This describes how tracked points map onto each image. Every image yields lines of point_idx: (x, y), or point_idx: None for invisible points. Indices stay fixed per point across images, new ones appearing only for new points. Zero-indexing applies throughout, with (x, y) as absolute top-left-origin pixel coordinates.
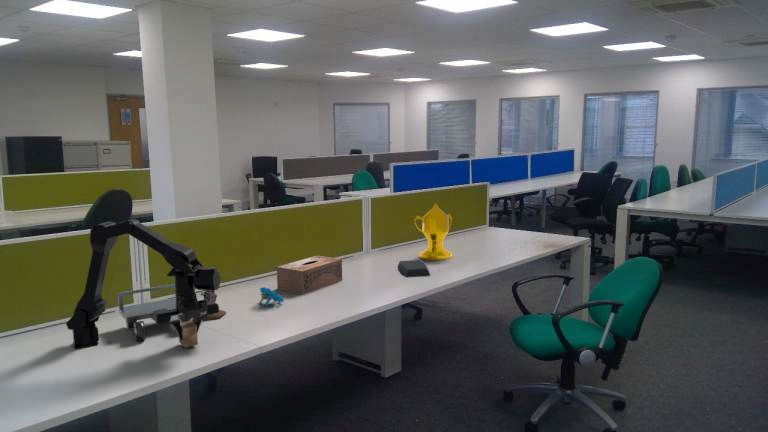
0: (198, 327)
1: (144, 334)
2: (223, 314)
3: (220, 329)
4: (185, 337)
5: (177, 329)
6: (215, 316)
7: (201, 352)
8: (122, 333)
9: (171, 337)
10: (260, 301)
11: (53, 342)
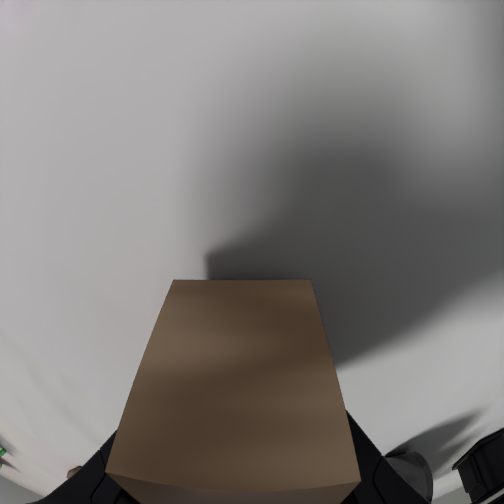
0: (109, 448)
1: (404, 472)
2: (71, 473)
3: (55, 413)
4: (311, 356)
5: (390, 475)
6: None
7: (182, 104)
8: None
9: None
10: (1, 453)
11: None
